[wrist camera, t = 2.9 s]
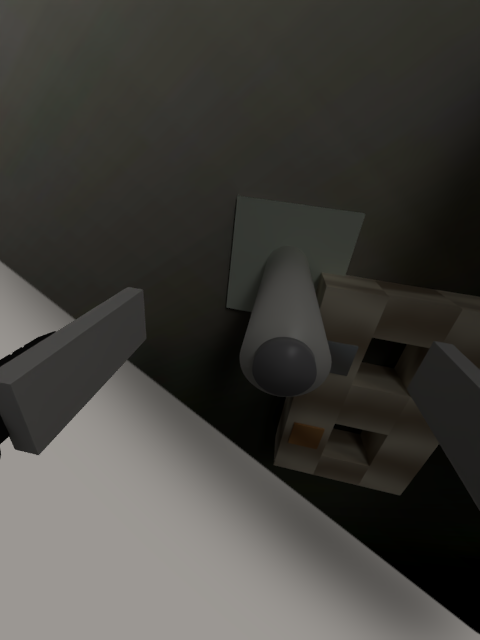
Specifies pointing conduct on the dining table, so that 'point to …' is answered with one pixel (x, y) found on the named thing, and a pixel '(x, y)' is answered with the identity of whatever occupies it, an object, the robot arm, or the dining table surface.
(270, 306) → the plug
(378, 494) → the dining table surface
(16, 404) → the robot arm
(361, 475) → the socket block
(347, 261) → the pad
